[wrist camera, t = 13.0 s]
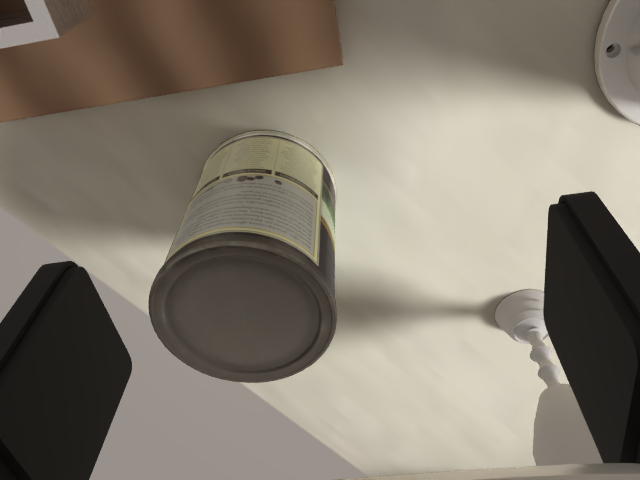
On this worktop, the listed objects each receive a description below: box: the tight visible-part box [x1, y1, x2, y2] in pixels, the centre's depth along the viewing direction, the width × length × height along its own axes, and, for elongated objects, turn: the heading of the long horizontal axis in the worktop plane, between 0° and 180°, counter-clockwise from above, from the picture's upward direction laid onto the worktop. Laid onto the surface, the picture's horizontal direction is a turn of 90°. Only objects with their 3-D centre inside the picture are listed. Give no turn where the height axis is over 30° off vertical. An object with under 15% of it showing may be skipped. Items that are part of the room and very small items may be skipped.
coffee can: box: [149, 131, 337, 383], centre depth 37 cm, size 10×10×14 cm
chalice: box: [495, 289, 603, 466], centre depth 42 cm, size 7×7×18 cm
